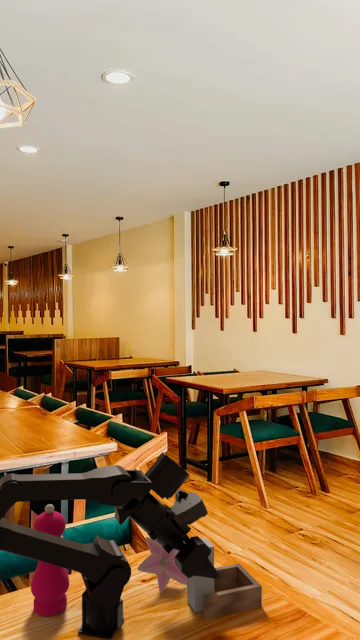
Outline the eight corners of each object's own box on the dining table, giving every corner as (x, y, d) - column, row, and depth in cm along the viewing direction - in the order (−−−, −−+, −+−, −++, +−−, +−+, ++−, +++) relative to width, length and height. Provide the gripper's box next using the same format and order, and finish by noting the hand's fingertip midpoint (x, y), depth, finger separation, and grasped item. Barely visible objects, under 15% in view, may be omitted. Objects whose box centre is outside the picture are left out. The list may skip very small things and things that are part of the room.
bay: (205, 619, 97) (205, 598, 97) (187, 593, 106) (187, 573, 106) (261, 606, 101) (261, 586, 101) (239, 582, 110) (239, 563, 110)
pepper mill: (74, 597, 104) (73, 498, 104) (62, 619, 97) (61, 512, 97) (39, 595, 105) (38, 497, 105) (24, 617, 98) (23, 511, 97)
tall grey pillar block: (194, 612, 99) (194, 549, 99) (187, 601, 103) (187, 541, 103) (214, 608, 101) (214, 546, 100) (206, 597, 105) (205, 537, 104)
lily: (128, 596, 107) (142, 564, 103) (133, 549, 118) (146, 519, 114) (183, 610, 108) (199, 579, 105) (183, 562, 119) (198, 533, 115)
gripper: (200, 500, 91) (256, 552, 95) (165, 468, 109) (214, 514, 113) (157, 552, 89) (217, 603, 93) (128, 511, 106) (180, 556, 110)
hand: (207, 564), depth 102 cm, fingers open, 9 cm apart
